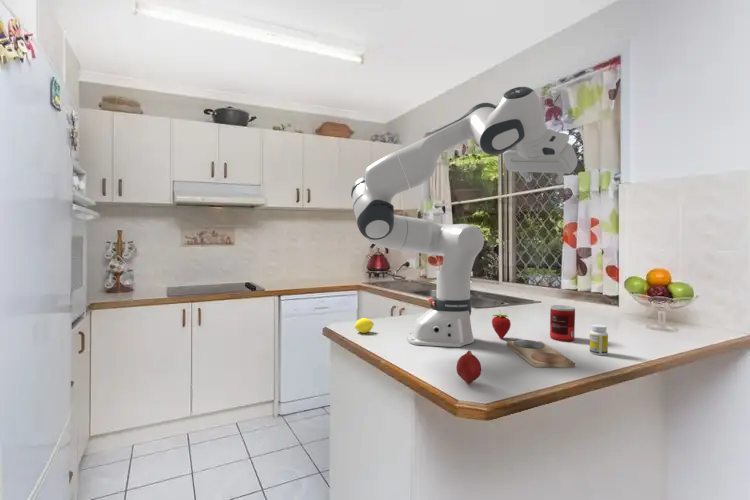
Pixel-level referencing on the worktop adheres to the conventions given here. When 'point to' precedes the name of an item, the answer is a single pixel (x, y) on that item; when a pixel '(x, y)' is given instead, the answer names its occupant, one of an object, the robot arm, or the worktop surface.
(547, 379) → the worktop surface
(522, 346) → the board
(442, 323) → the robot arm
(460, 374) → the onion
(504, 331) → the strawberry
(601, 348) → the supplement bottle
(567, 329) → the canned food
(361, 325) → the lemon
